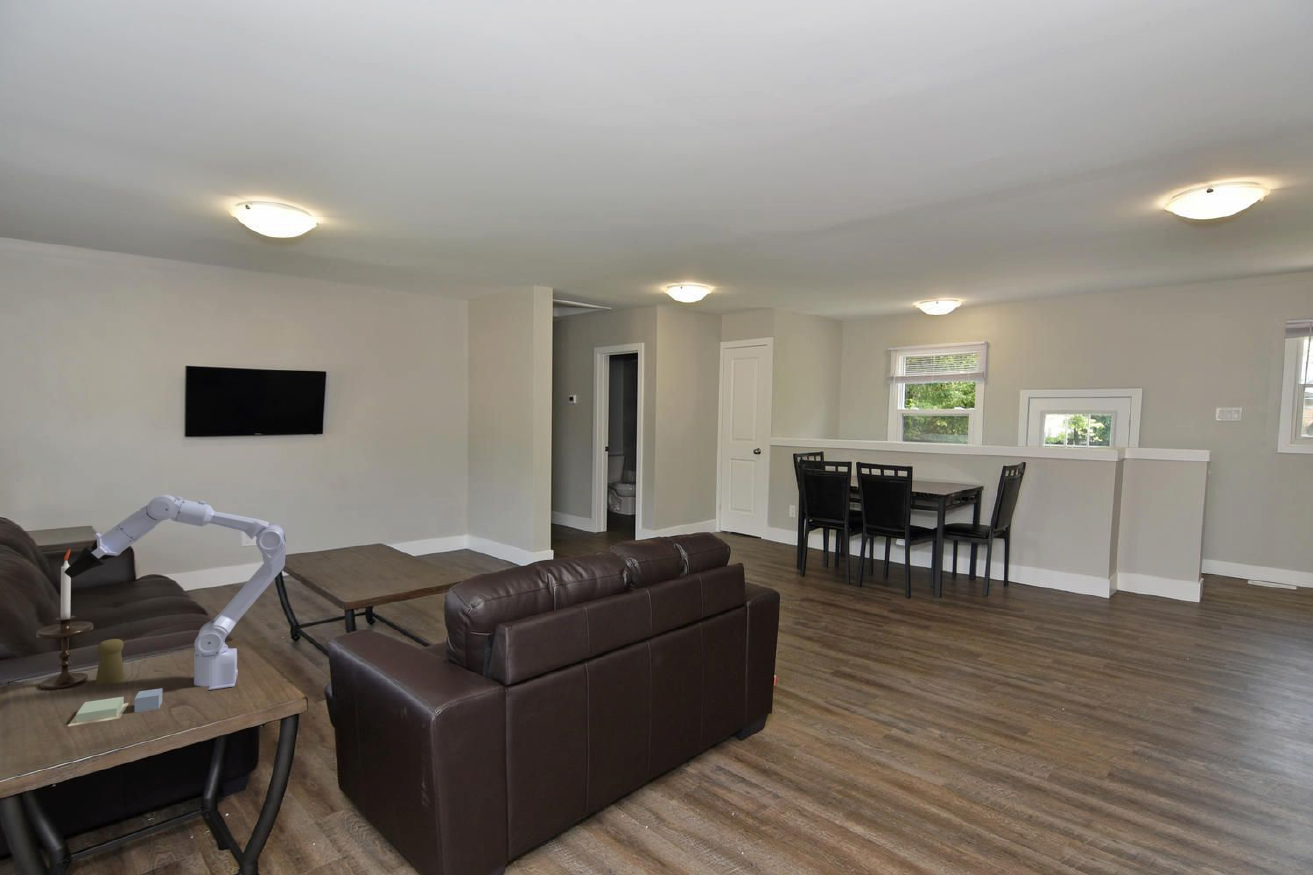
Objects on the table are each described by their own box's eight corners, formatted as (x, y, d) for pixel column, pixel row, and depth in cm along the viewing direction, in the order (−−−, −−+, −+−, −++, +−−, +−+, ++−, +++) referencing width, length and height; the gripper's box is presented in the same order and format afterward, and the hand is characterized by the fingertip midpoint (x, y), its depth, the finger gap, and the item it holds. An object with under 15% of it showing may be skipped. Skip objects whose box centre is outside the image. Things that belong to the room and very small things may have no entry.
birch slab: (128, 711, 154) (128, 702, 154) (119, 726, 146) (119, 718, 146) (79, 718, 150) (79, 709, 150) (67, 735, 142) (67, 726, 142)
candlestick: (98, 672, 174) (99, 543, 174) (84, 687, 165) (86, 551, 164) (45, 678, 170) (46, 546, 169) (28, 694, 160) (29, 554, 159)
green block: (123, 704, 153) (123, 696, 153) (116, 716, 147) (116, 708, 147) (84, 710, 150) (85, 702, 150) (76, 722, 144) (76, 714, 144)
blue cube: (162, 706, 156) (162, 688, 156) (158, 714, 152) (158, 695, 152) (138, 710, 153) (138, 691, 153) (134, 717, 150) (134, 698, 149)
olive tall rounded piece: (129, 680, 170) (129, 639, 169) (100, 688, 164) (100, 645, 164) (120, 675, 173) (120, 634, 173) (91, 682, 168) (91, 640, 167)
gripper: (121, 516, 164) (68, 553, 159) (107, 524, 151) (48, 565, 147) (144, 536, 166) (92, 573, 162) (131, 546, 154) (74, 587, 149)
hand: (73, 571), depth 154 cm, fingers open, 7 cm apart
